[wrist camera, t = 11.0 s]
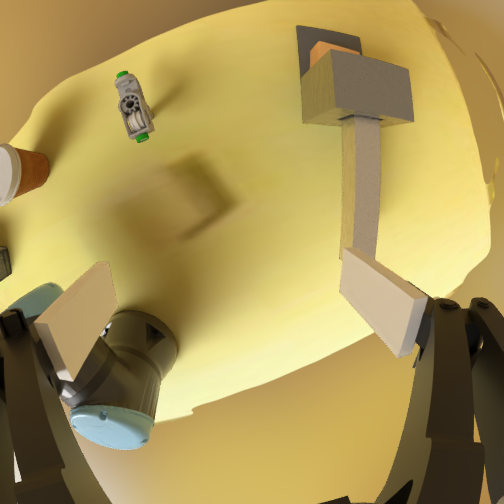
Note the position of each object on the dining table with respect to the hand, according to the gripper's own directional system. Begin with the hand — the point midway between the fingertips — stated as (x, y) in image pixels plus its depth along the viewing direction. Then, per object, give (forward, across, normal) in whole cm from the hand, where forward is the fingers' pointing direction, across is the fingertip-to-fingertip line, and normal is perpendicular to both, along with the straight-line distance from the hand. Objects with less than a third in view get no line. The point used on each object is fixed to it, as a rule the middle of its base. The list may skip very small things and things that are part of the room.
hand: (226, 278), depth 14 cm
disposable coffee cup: (+29, +34, -10) cm, 46 cm away
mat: (+29, -19, -26) cm, 43 cm away
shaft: (+23, -19, -5) cm, 30 cm away
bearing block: (+29, -19, -17) cm, 38 cm away
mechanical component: (+29, +11, -15) cm, 34 cm away
